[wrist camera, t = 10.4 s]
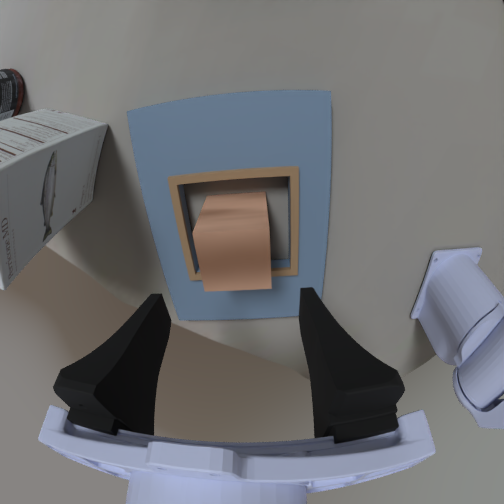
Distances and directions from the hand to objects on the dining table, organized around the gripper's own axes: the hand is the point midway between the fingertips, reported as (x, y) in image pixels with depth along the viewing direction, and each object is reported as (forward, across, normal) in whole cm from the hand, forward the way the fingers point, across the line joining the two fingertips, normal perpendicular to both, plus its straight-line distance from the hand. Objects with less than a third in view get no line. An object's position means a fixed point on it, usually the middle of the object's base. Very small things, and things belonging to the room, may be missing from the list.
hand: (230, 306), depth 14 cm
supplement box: (+10, +14, -8) cm, 19 cm away
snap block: (+10, 0, 0) cm, 10 cm away
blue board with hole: (+10, 0, 0) cm, 10 cm away
